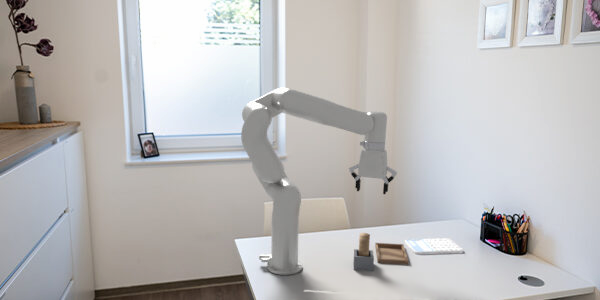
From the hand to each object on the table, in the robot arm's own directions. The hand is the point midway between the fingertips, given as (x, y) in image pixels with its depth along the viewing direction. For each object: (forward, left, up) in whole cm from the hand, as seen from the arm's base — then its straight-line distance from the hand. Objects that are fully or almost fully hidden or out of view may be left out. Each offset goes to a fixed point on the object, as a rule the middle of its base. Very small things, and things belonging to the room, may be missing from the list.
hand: (371, 191), depth 170 cm
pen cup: (-2, -8, -26) cm, 27 cm away
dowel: (-2, -8, -26) cm, 27 cm away
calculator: (+27, +16, -27) cm, 41 cm away
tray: (+9, +4, -26) cm, 28 cm away
